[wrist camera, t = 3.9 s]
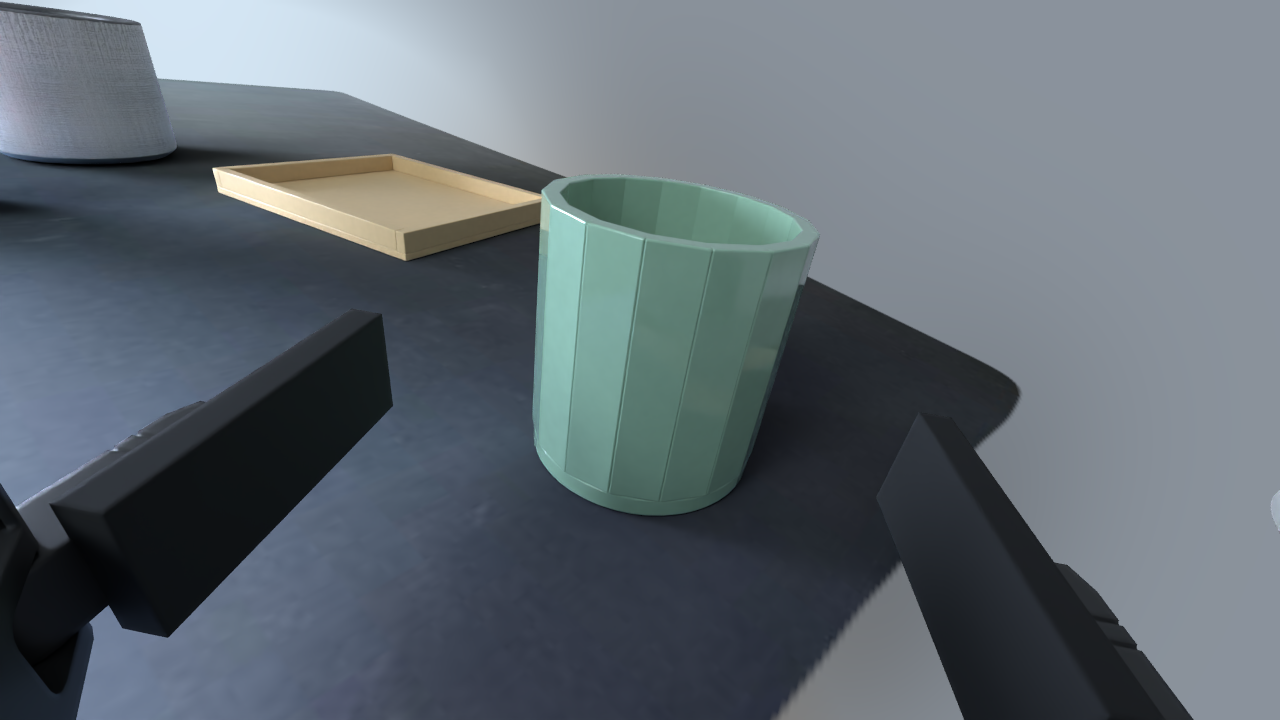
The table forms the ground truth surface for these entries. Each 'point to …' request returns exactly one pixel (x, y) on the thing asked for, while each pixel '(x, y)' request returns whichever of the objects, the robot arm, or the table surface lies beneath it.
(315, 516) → the table surface
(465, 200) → the tray
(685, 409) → the cup
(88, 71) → the planter
